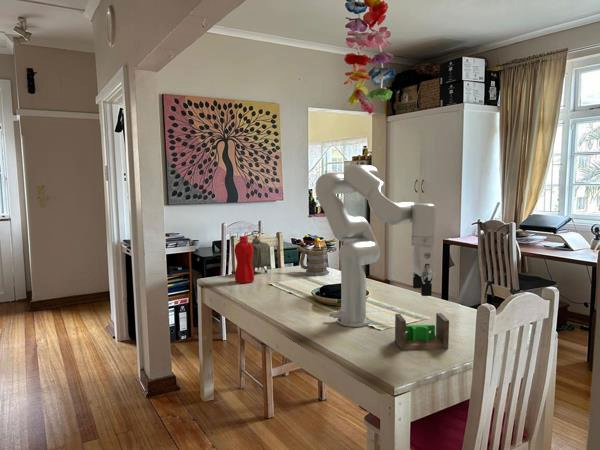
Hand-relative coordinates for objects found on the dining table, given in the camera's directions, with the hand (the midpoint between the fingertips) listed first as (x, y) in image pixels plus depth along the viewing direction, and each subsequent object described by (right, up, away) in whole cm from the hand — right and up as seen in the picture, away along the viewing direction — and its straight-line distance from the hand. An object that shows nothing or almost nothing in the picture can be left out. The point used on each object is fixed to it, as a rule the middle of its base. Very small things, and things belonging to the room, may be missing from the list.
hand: (421, 291), depth 149 cm
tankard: (-34, -6, +115) cm, 120 cm away
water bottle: (-70, -9, +93) cm, 117 cm away
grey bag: (-67, -6, +116) cm, 134 cm away
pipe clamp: (0, -17, +2) cm, 17 cm away
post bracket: (0, -18, +2) cm, 18 cm away
